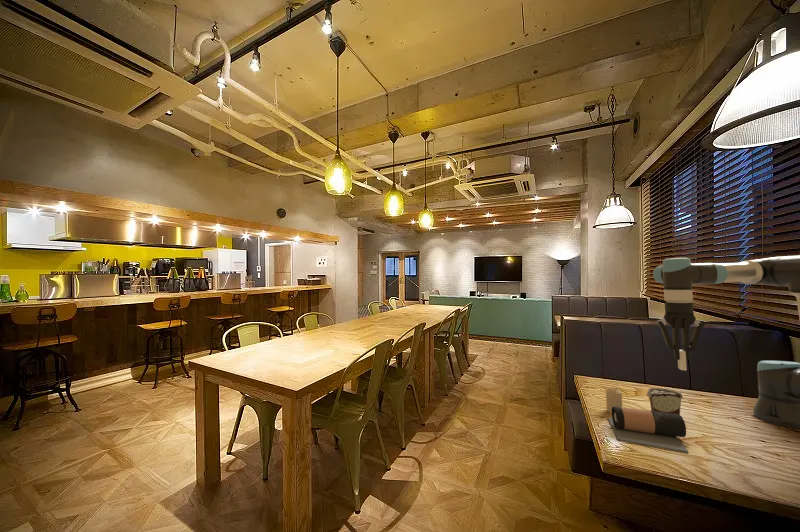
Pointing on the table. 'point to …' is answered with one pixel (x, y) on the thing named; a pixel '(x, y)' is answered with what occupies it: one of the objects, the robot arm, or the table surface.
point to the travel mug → (648, 421)
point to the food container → (665, 400)
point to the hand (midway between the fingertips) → (682, 369)
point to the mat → (648, 439)
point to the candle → (613, 398)
